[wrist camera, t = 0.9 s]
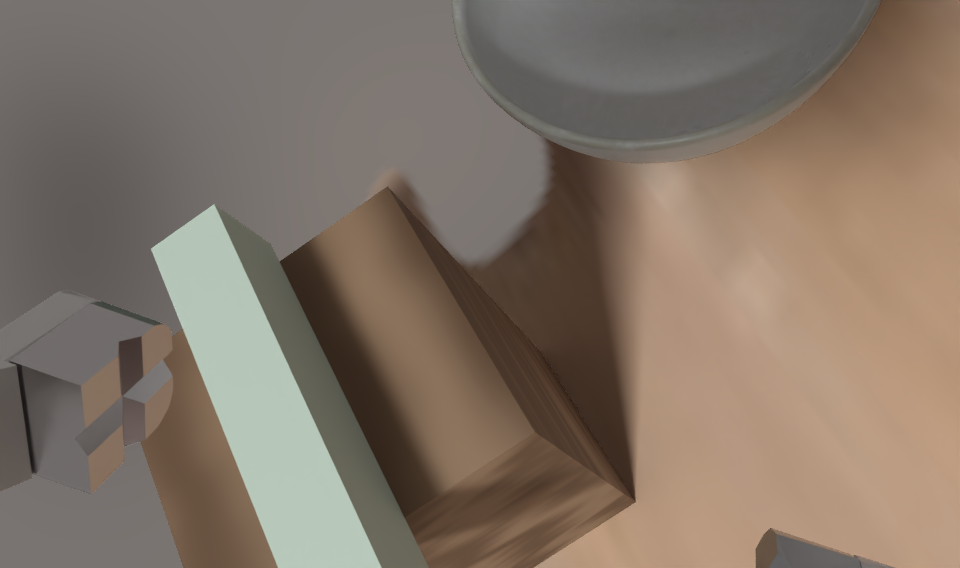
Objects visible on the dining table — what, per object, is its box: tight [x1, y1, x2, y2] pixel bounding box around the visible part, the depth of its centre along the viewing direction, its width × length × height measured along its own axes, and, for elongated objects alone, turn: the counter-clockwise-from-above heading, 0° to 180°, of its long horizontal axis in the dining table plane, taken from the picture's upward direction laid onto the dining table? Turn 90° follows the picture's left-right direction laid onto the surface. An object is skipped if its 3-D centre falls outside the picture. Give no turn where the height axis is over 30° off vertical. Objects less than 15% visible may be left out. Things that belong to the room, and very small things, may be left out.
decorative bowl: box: [452, 0, 881, 163], centre depth 56 cm, size 27×27×12 cm
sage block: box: [151, 204, 429, 568], centre depth 28 cm, size 3×21×4 cm, turn 30°
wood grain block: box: [140, 187, 635, 568], centre depth 43 cm, size 14×12×26 cm
